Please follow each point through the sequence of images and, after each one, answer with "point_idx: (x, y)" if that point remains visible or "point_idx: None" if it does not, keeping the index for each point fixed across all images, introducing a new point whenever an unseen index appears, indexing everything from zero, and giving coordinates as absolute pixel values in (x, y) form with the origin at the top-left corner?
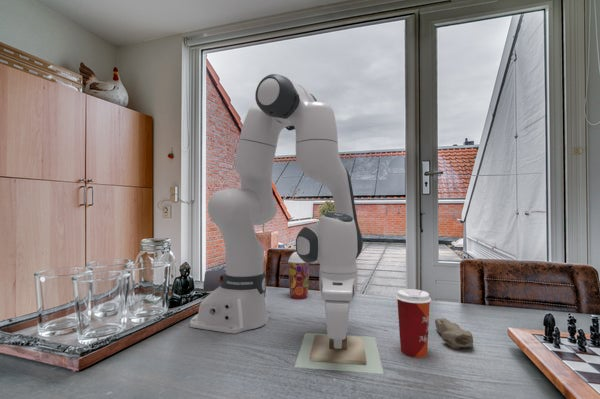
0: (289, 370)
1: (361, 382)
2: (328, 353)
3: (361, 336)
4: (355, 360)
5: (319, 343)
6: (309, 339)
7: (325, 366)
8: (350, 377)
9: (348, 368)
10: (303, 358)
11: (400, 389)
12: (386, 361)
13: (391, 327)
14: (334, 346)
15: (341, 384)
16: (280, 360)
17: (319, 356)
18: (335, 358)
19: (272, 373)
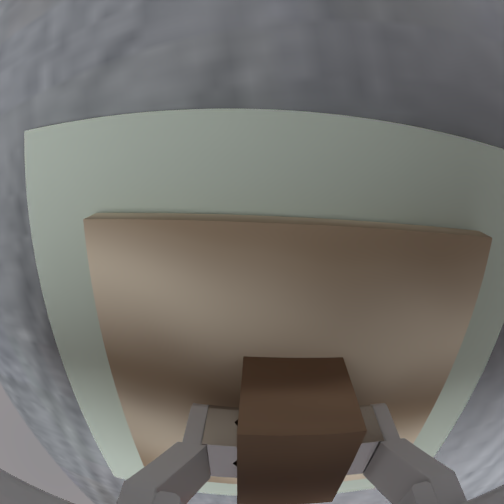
0: (26, 108)
1: (52, 412)
2: (165, 349)
3: (439, 447)
4: (136, 446)
5: (338, 284)
6: (462, 187)
7: (68, 311)
8: (61, 391)
9: (95, 404)
10: (124, 162)
11: (74, 473)
12: (225, 496)
13: (478, 479)
14: (193, 409)
15: (11, 352)
16: (126, 12)
17: (105, 291)
18: (117, 378)
19: (6, 41)
